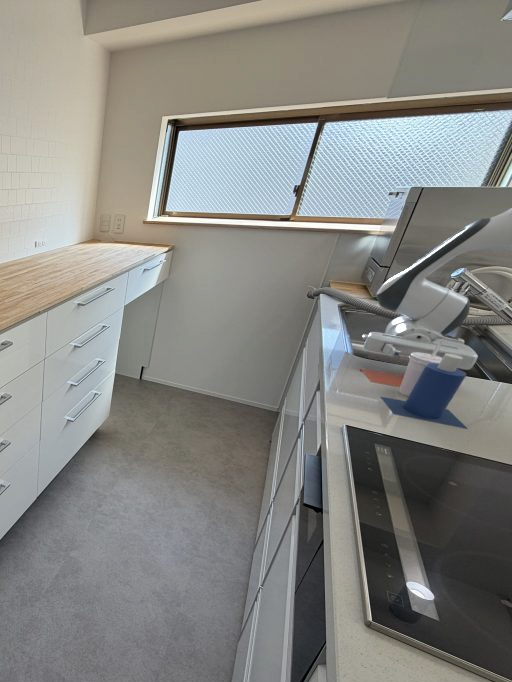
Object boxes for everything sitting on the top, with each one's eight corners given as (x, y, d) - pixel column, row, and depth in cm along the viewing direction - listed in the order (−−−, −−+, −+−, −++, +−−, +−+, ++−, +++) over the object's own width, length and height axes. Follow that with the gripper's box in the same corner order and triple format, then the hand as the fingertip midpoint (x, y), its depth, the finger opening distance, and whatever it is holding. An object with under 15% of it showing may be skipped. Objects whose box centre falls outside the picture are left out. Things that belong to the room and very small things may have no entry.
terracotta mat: (422, 381, 104) (423, 379, 104) (437, 395, 97) (438, 393, 97) (359, 370, 109) (360, 368, 109) (369, 383, 102) (370, 381, 101)
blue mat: (446, 411, 90) (448, 409, 90) (467, 431, 83) (468, 429, 83) (379, 398, 94) (380, 396, 94) (392, 415, 87) (393, 413, 87)
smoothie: (434, 402, 94) (468, 345, 87) (406, 401, 94) (438, 344, 87) (410, 389, 99) (440, 334, 93) (383, 388, 99) (412, 333, 93)
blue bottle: (433, 408, 90) (466, 353, 84) (445, 421, 85) (481, 364, 79) (398, 402, 92) (428, 348, 86) (409, 414, 87) (441, 357, 81)
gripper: (367, 323, 111) (371, 336, 101) (472, 340, 100) (489, 357, 90) (357, 344, 114) (360, 359, 103) (458, 364, 103) (473, 383, 93)
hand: (421, 359), depth 97 cm, fingers open, 8 cm apart
